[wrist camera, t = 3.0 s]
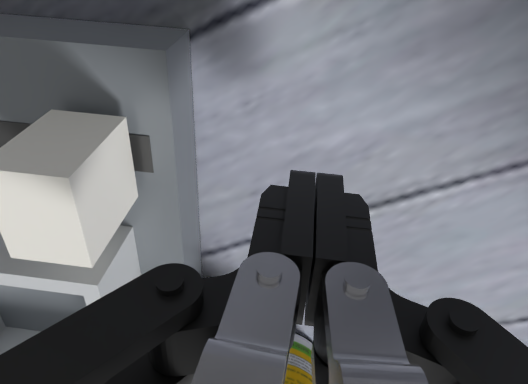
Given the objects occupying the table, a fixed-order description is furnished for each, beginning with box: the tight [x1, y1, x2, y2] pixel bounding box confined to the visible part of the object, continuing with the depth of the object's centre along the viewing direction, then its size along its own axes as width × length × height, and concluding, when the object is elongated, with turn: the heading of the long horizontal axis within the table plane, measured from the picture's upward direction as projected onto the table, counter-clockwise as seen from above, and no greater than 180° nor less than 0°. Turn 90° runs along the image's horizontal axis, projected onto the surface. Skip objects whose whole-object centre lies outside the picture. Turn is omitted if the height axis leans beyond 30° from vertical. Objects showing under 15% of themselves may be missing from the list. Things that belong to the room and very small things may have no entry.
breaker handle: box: [0, 109, 138, 268], centre depth 12 cm, size 2×3×4 cm
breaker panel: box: [0, 14, 202, 355], centre depth 16 cm, size 12×15×6 cm
